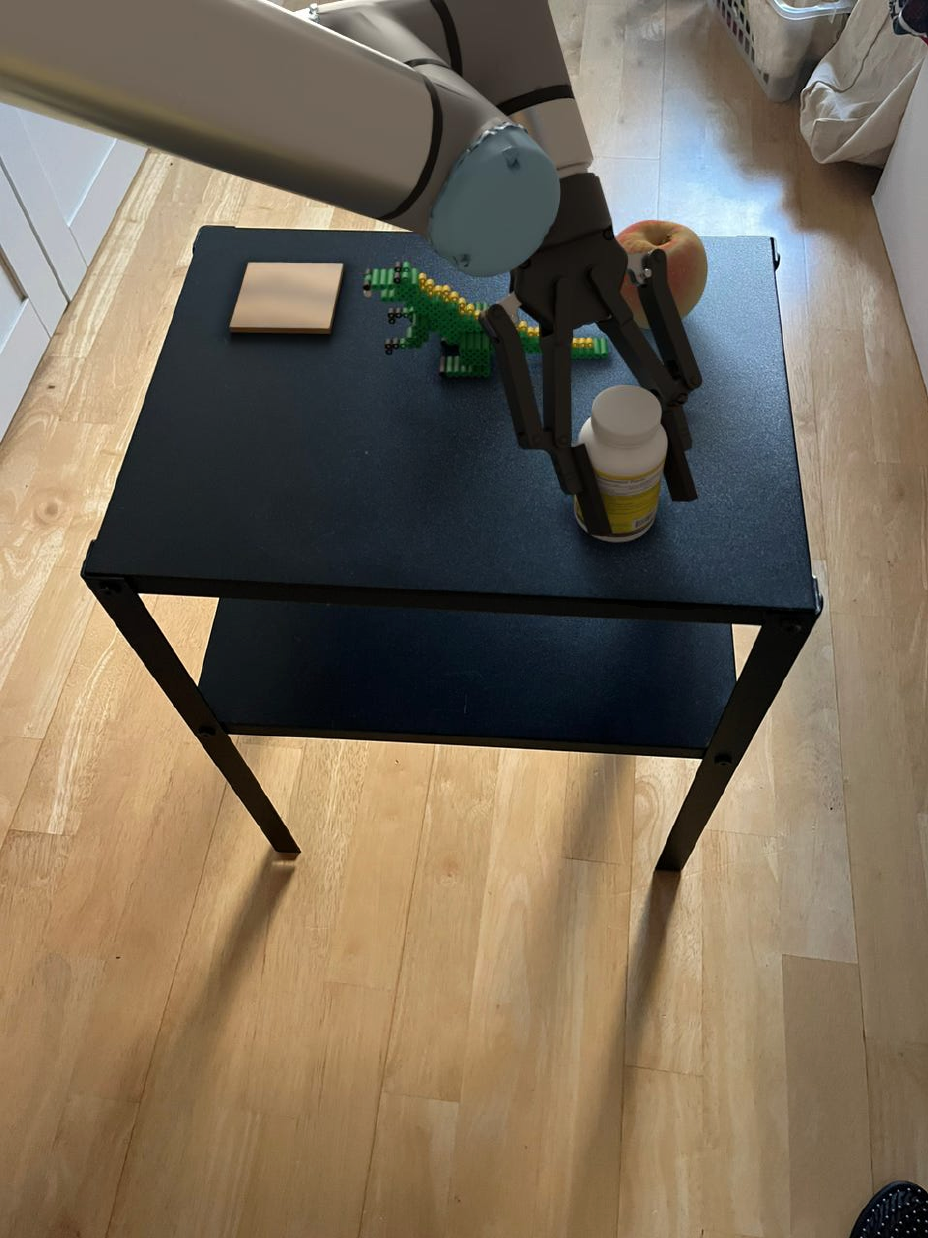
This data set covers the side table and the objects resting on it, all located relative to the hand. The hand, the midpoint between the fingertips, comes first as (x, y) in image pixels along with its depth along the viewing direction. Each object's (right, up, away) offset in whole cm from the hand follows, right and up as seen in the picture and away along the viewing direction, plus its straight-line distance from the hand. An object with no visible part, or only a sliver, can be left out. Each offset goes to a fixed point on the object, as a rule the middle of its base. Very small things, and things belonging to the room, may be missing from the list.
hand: (642, 516), depth 74 cm
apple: (+4, +20, +18) cm, 27 cm away
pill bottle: (-1, +1, +5) cm, 5 cm away
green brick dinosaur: (-10, +15, +16) cm, 24 cm away
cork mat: (-29, +22, +21) cm, 41 cm away
